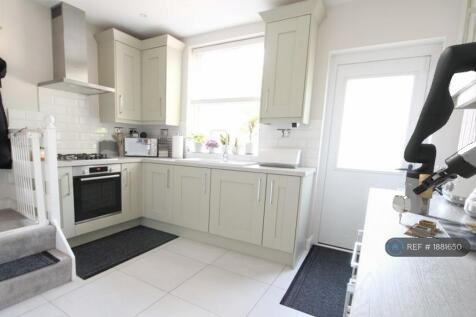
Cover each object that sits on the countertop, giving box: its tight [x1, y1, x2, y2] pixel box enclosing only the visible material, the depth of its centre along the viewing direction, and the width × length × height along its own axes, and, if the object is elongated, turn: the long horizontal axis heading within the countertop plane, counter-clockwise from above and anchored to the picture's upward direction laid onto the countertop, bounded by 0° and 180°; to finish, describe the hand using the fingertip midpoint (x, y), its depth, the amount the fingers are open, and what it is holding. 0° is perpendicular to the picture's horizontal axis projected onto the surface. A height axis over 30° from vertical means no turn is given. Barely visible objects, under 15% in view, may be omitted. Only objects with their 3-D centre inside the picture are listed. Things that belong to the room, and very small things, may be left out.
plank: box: [403, 218, 441, 239], centre depth 77 cm, size 18×7×4 cm, turn 130°
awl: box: [418, 174, 434, 211], centre depth 73 cm, size 4×4×12 cm
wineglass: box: [391, 194, 411, 224], centre depth 85 cm, size 6×6×12 cm
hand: (417, 192), depth 75 cm, fingers closed on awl, 3 cm apart
